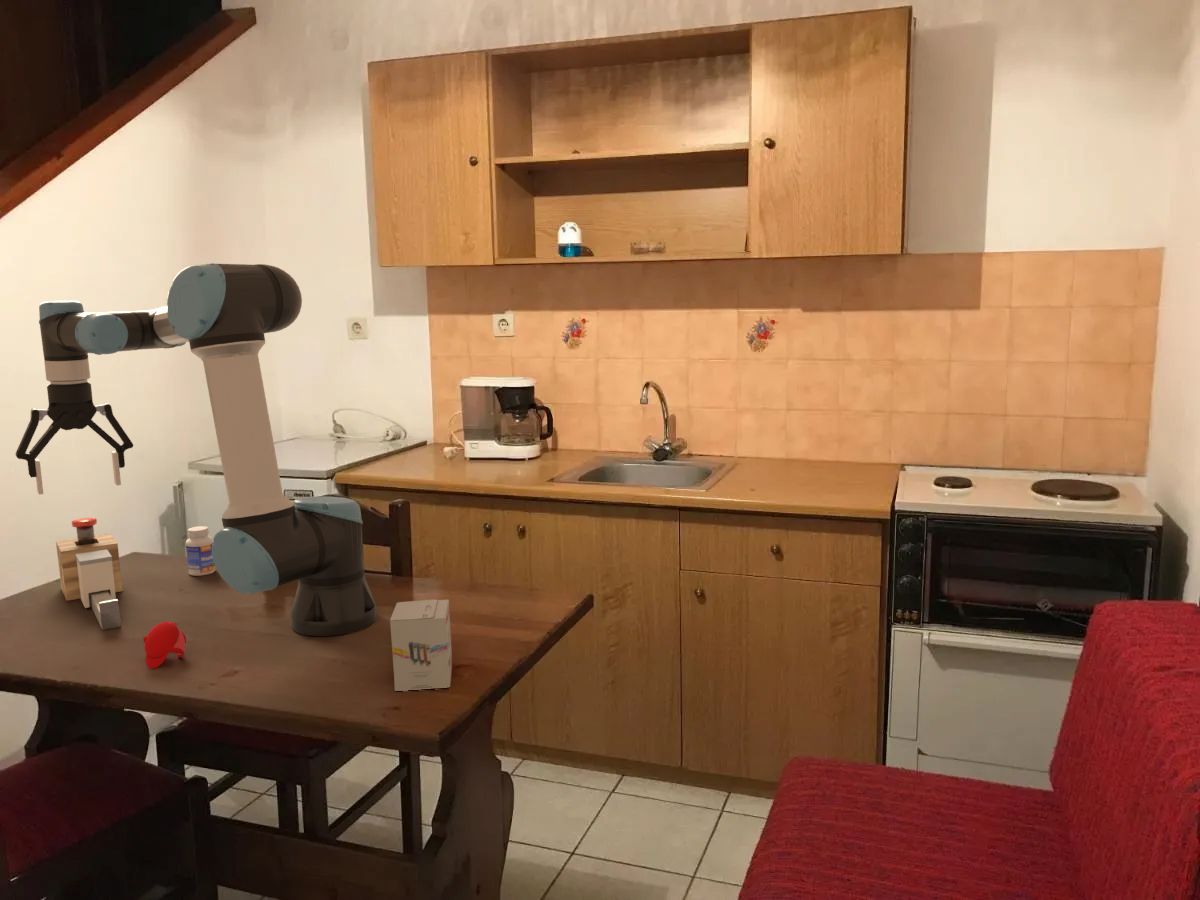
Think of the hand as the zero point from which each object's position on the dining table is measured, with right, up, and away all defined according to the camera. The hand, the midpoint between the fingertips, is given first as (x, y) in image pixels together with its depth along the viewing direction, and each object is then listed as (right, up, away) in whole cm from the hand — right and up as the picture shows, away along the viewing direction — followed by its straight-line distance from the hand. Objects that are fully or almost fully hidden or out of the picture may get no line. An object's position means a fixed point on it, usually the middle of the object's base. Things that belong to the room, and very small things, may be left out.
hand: (79, 488), depth 191 cm
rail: (+8, -23, -8) cm, 26 cm away
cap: (+31, -27, -31) cm, 52 cm away
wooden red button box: (0, -21, +5) cm, 21 cm away
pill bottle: (+18, -19, +16) cm, 30 cm away
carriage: (+5, -22, -3) cm, 23 cm away
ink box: (+75, -28, -40) cm, 90 cm away
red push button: (0, -11, +3) cm, 12 cm away
